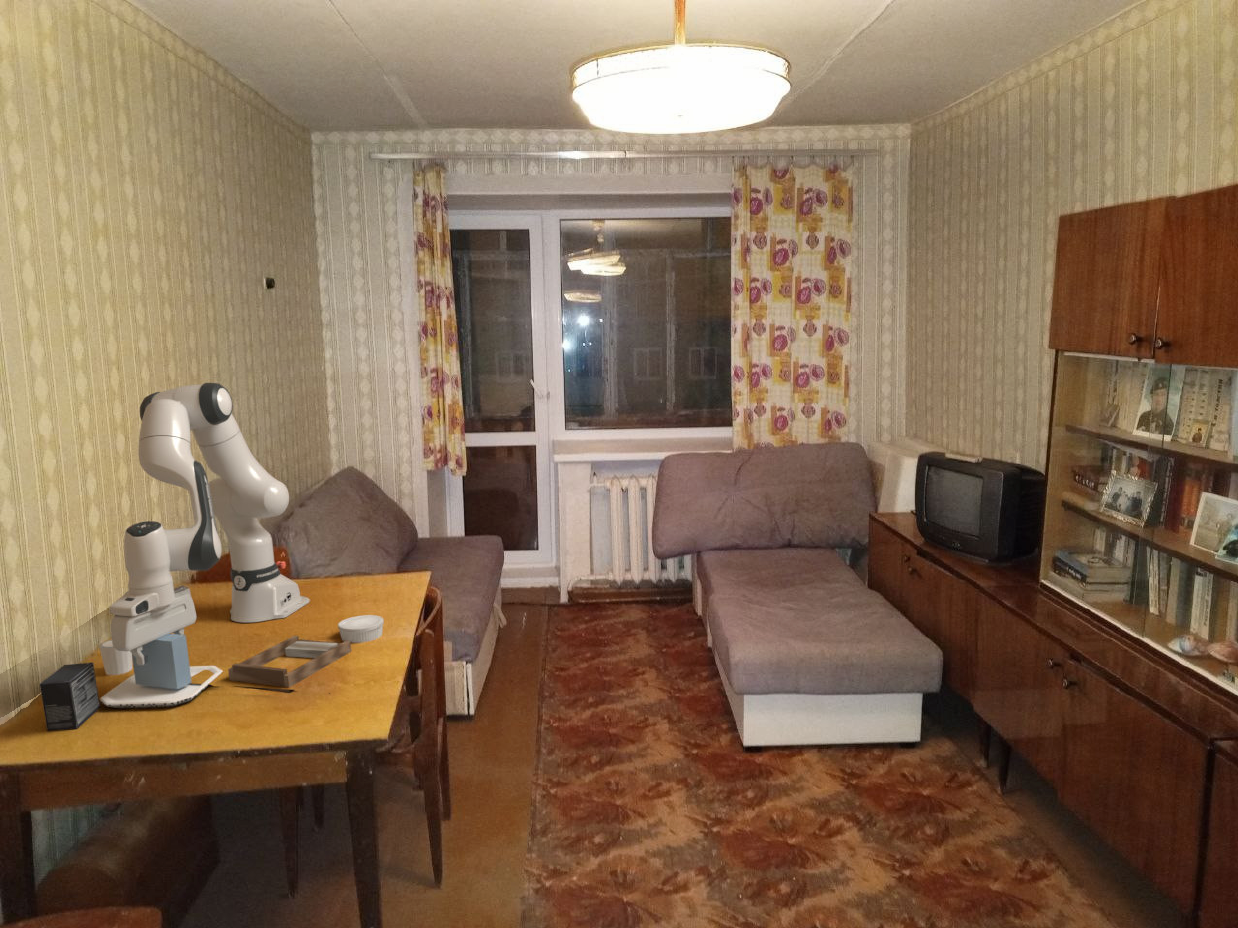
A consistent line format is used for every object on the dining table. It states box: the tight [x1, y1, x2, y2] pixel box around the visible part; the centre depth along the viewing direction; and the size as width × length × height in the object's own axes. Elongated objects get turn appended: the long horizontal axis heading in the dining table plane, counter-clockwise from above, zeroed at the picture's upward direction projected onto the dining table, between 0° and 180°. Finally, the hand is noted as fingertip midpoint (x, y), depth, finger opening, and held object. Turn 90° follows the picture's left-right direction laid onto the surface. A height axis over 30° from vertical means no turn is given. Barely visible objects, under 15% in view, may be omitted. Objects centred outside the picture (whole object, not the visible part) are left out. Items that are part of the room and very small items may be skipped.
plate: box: [99, 665, 224, 709], centre depth 209 cm, size 21×21×2 cm
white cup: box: [98, 639, 133, 676], centre depth 223 cm, size 7×7×7 cm
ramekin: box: [337, 614, 385, 644], centre depth 237 cm, size 11×11×5 cm
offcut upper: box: [285, 641, 338, 659], centre depth 225 cm, size 5×11×2 cm, turn 76°
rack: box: [227, 635, 352, 694], centre depth 218 cm, size 23×16×5 cm
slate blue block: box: [132, 633, 192, 689], centre depth 208 cm, size 4×12×11 cm, turn 70°
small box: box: [39, 662, 101, 732], centre depth 195 cm, size 11×6×10 cm, turn 5°
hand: (159, 656), depth 208 cm, fingers open, 8 cm apart
